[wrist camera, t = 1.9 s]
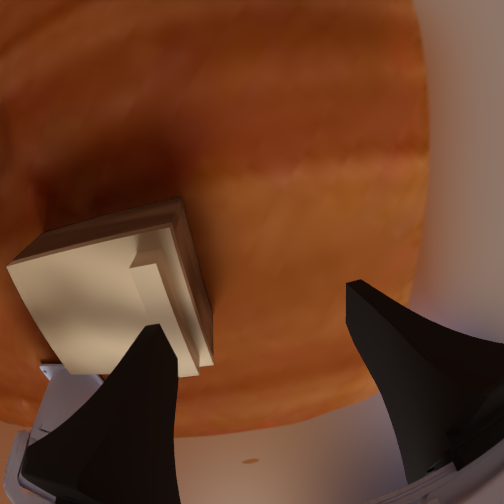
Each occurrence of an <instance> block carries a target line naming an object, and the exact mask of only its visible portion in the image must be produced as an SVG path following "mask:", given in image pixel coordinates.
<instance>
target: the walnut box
mask: <svg viewBox="0 0 504 504" xmlns="http://www.w3.org/2000/svg"><path fill="white" fill-rule="evenodd" d="M171 222H172V226H173V229H174V233H175V237H176V240H177V244H178V248H179V251H180V255H181V258H182V262H183V265H184V268H185V272H186V275H187V279H188V282H189V285H190V288H191V292H192V295H193V298H194V301H195V304H196V307H197V311H198V314H199V317H200V320H201V323H202V326H203V329H204V332H205V335H206V338H207V341H208V343H209V346H210V349H211V352H212V355H213V314H212V311H211V307H210V304H209V300H208V297H207V293H206V289H205V286H204V282H203V279H202V275H201V271H200V267H199V264H198V260H197V256H196V252H195V248H194V244H193V241H192V237H191V233H190V229H189V224H188V220H187V216H186V212H185V208H184V204H183V199H182V197H180V198H176V199H171V200H167V201H162V202H158V203H153V204H149V205H144V206H140V207H136V208H132V209H128V210H124V211H120V212H116V213H112V214H108V215H104V216H100V217H97V218H93V219H89V220H86V221H82V222H78V223H75V224H71V225H68V226H65V227H61V228H58V229H55V230H51V231H48V232H45V233H42V234H41V235H40V236H39V237H38V238H36V239H35V240H34V241H33V242H32V243H31V244H30V245H29V246H27V247H26V248H25V249H24V250H23V251H22V252H21V253H20V254H19V255H18V256H17V257H16V258H15V259H14V260H13V261H15V260H19V259H22V258H26V257H29V256H33V255H36V254H40V253H44V252H48V251H51V250H55V249H59V248H63V247H67V246H71V245H75V244H79V243H83V242H87V241H91V240H95V239H99V238H103V237H107V236H112V235H116V234H120V233H125V232H129V231H134V230H138V229H143V228H147V227H152V226H157V225H161V224H166V223H171Z"/></svg>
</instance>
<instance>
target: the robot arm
mask: <svg viewBox="0 0 504 504" xmlns="http://www.w3.org/2000/svg"><path fill="white" fill-rule="evenodd" d="M346 325H347V327H348V330H349V332H350V335H351V337H352V340H353V342H354V344H355V346H356V348H357V350H358V352H359V354H360V355H361V357H362V359H363V361H364V363H365V364H366V366H367V368H368V370H369V372H370V374H371V375H372V377H373V379H374V381H375V383H376V385H377V387H378V389H379V391H380V393H381V395H382V397H383V400H384V403H385V405H386V408H387V411H388V413H389V416H390V419H391V422H392V425H393V428H394V431H395V435H396V438H397V441H398V445H399V449H400V452H401V456H402V460H403V465H404V469H405V475H406V480H407V482H408V485H407V486H405V487H402V488H400V489H398V490H396V491H393V492H391V493H388V494H386V495H383V496H381V497H378V498H376V499H373V500H371V501H368V502H365V503H362V504H410V503H412V502H414V501H416V500H418V499H420V498H422V497H423V498H422V499H421V501H420V504H504V344H503V343H496V342H492V341H487V340H483V339H479V338H476V337H472V336H469V335H466V334H463V333H460V332H457V331H454V330H451V329H449V328H446V327H444V326H442V325H439V324H437V323H435V322H432V321H430V320H428V319H426V318H424V317H422V316H420V315H419V314H417V313H415V312H413V311H411V310H409V309H408V308H406V307H404V306H403V305H401V304H399V303H398V302H396V301H394V300H393V299H391V298H389V297H388V296H386V295H385V294H383V293H382V292H380V291H378V290H377V289H375V288H374V287H372V286H371V285H369V284H368V283H366V282H364V281H363V280H361V279H360V280H356V281H352V282H349V283H346ZM40 369H41V370H42V372H43V373H44V374H45V375H46V377H47V378H48V379H49V380H50V382H49V384H48V387H47V389H46V392H45V394H44V397H43V399H42V402H41V404H40V407H39V410H38V412H37V415H36V418H35V421H34V424H33V426H32V429H31V431H30V432H28V431H26V430H25V429H24V430H23V431H18V432H17V435H16V437H15V440H14V442H13V445H12V448H11V451H10V454H9V458H8V461H7V466H6V470H5V478H4V482H3V486H4V488H5V493H6V495H7V496H8V498H9V499H10V501H11V502H12V503H13V504H181V503H180V497H179V491H178V485H177V478H176V469H175V457H174V421H175V410H176V400H177V390H178V358H177V356H176V354H175V352H174V351H173V349H172V347H171V345H170V343H169V341H168V339H167V337H166V335H165V333H164V331H163V329H162V327H161V325H160V323H158V324H152V325H146V326H145V327H144V328H143V330H142V331H141V332H140V334H139V335H138V336H137V338H136V339H135V341H134V342H133V343H132V345H131V346H130V348H129V349H128V351H127V352H126V353H125V355H124V356H123V358H122V359H121V360H120V362H119V363H118V365H117V366H116V367H115V368H114V370H113V371H112V372H111V374H110V375H109V376H108V377H107V379H106V380H105V381H103V380H102V379H101V377H100V376H99V375H98V374H70V373H69V372H68V370H67V369H66V368H65V366H64V365H63V364H40ZM20 486H22V487H23V488H25V489H27V490H29V491H31V492H33V493H35V494H37V495H39V496H37V495H35V494H32V493H29V494H26V493H25V492H24V491H23V490H22V489H21V487H20ZM40 496H41V497H40Z"/></svg>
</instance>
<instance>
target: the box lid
mask: <svg viewBox="0 0 504 504" xmlns="http://www.w3.org/2000/svg"><path fill="white" fill-rule="evenodd" d="M6 267H7V269H8V271H9V274H10V276H11V278H12V280H13V282H14V284H15V286H16V288H17V290H18V292H19V294H20V296H21V298H22V299H23V301H24V303H25V305H26V307H27V309H28V310H29V312H30V314H31V316H32V317H33V319H34V321H35V322H36V324H37V326H38V327H39V329H40V331H41V332H42V334H43V335H44V337H45V339H46V340H47V342H48V343H49V345H50V346H51V348H52V349H53V351H54V352H55V354H56V355H57V356H58V358H59V359H60V361H61V362H62V363H63V365H64V366H65V368H66V369H67V370H68V372H69V373H70V374H111V372H112V371H113V370H114V368H115V367H116V366H117V365H118V363H119V362H120V360H121V359H122V358H123V356H124V355H125V353H126V352H127V351H128V349H129V348H130V346H131V345H132V343H133V342H134V341H135V339H136V338H137V336H138V335H139V334H140V332H141V331H142V330H143V328H144V327H145V326H146V325H152V324H158V323H160V325H161V327H162V329H163V331H164V333H165V335H166V337H167V339H168V341H169V343H170V345H171V347H172V349H173V351H174V352H175V354H176V356H177V358H178V377H186V376H195V375H199V367H201V366H209V365H214V360H213V355H212V352H211V349H210V346H209V343H208V341H207V338H206V335H205V332H204V329H203V326H202V323H201V320H200V317H199V314H198V311H197V307H196V304H195V301H194V298H193V295H192V292H191V288H190V285H189V282H188V279H187V275H186V272H185V268H184V265H183V262H182V258H181V255H180V251H179V248H178V244H177V240H176V237H175V233H174V229H173V226H172V222H171V223H166V224H161V225H157V226H152V227H147V228H143V229H138V230H134V231H129V232H125V233H120V234H116V235H112V236H107V237H103V238H99V239H95V240H91V241H87V242H83V243H79V244H75V245H71V246H67V247H63V248H59V249H55V250H51V251H48V252H44V253H40V254H36V255H33V256H29V257H26V258H22V259H19V260H15V261H12V262H11V263H9V264H8V265H7V266H6Z"/></svg>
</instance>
